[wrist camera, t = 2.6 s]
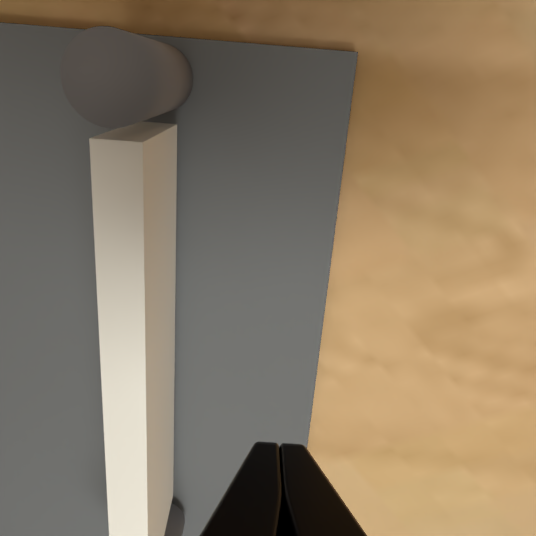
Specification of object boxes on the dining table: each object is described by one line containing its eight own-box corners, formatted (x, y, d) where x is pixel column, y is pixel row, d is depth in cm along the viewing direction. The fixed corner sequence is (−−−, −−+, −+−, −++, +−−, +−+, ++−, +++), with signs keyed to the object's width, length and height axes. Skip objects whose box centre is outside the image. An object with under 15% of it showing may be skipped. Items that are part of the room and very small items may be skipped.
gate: (184, 539, 22) (160, 671, 17) (134, 536, 22) (96, 668, 17) (193, 125, 16) (160, 147, 11) (123, 119, 16) (58, 139, 11)
